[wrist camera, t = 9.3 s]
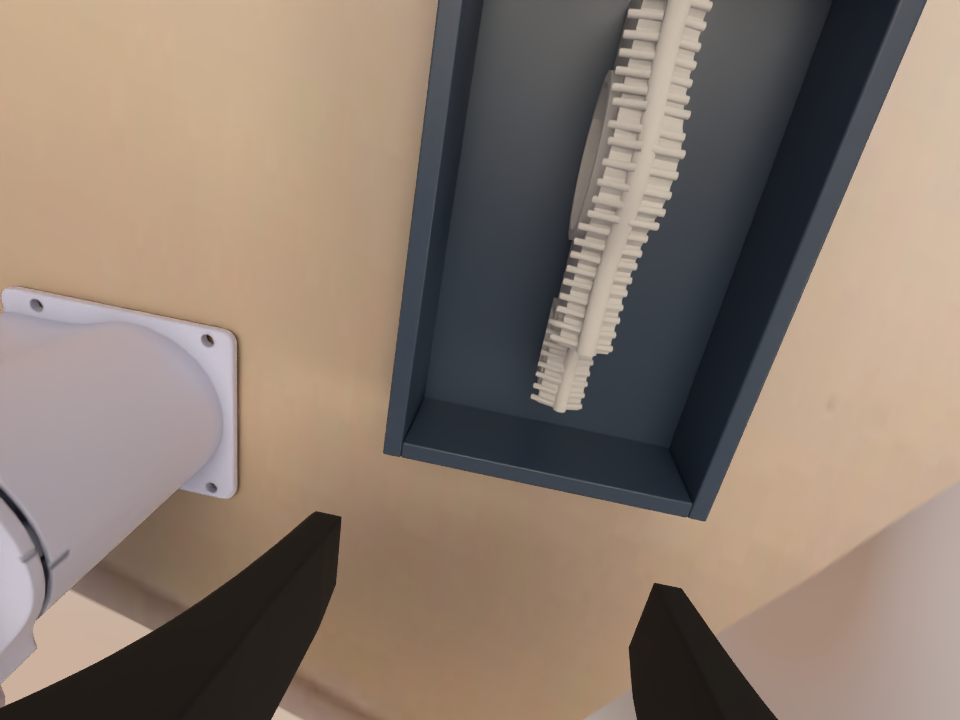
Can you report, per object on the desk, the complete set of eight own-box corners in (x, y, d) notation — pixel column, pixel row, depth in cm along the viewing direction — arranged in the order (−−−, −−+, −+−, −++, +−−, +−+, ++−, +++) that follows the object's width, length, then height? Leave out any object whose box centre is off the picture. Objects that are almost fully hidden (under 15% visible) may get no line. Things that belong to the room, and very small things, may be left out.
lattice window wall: (577, 378, 19) (592, 467, 14) (529, 368, 19) (525, 453, 14) (680, -1, 15) (762, -91, 9) (617, -12, 15) (663, -109, 9)
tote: (410, 401, 21) (382, 454, 17) (486, -144, 14) (467, -245, 11) (676, 456, 21) (706, 522, 17) (876, -76, 14) (995, -158, 10)
